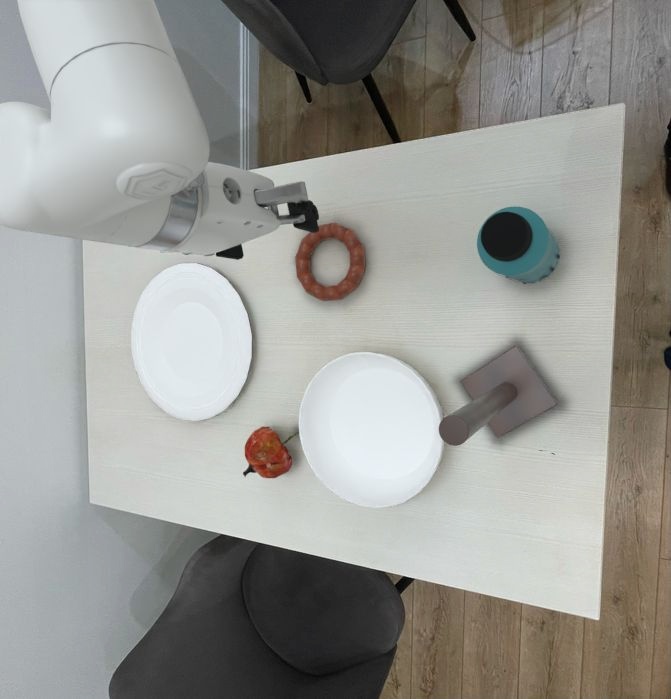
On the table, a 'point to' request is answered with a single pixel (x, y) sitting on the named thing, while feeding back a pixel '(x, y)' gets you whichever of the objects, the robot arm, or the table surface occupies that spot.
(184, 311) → the plate
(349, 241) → the ring
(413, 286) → the table surface
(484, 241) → the beverage bottle
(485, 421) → the peg post
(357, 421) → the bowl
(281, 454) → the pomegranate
